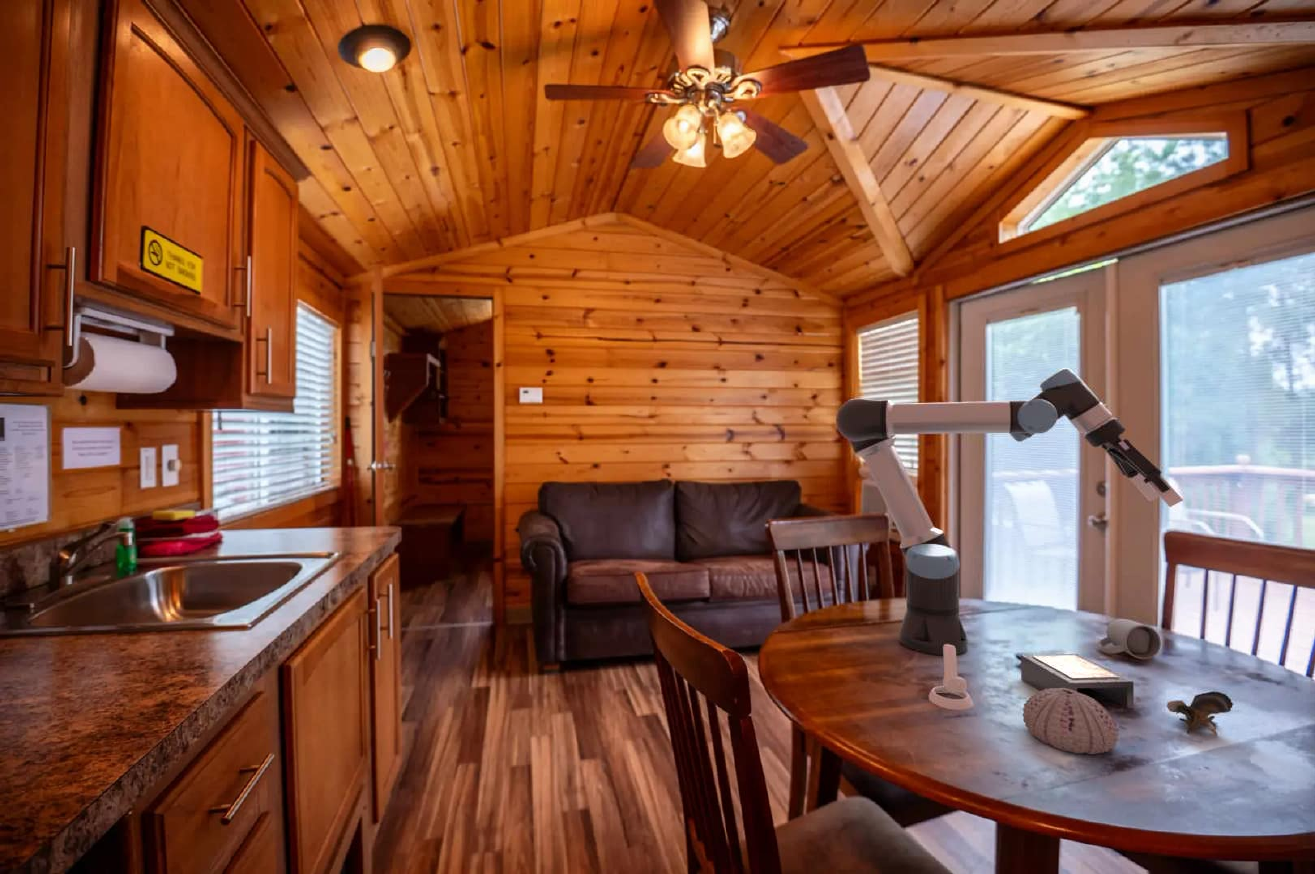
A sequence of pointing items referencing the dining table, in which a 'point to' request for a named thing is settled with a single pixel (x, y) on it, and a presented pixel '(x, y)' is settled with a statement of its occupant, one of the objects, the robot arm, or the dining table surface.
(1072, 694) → the sea urchin shell
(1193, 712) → the eagle figurine
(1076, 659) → the dark boxy piece
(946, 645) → the vr controller
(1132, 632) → the ceramic mug
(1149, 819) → the dining table surface
